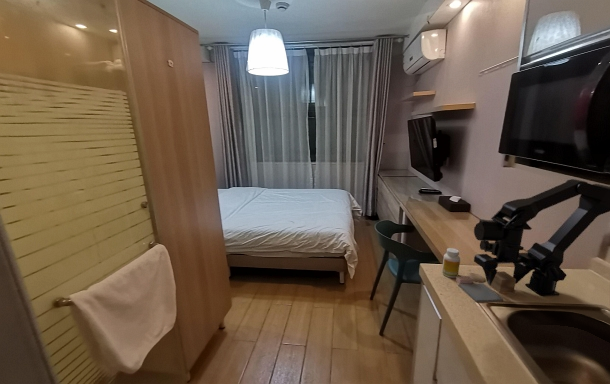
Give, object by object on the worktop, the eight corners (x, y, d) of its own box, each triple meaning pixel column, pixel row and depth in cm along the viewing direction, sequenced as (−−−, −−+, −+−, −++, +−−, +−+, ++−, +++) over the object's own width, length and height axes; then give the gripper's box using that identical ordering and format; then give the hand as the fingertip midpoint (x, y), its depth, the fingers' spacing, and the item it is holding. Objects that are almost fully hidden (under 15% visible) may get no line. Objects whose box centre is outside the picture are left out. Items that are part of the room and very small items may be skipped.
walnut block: (501, 284, 96) (504, 271, 95) (513, 292, 91) (516, 279, 90) (488, 284, 96) (490, 271, 95) (499, 293, 91) (501, 279, 90)
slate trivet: (482, 284, 96) (483, 283, 95) (503, 300, 87) (503, 299, 87) (458, 285, 95) (458, 284, 95) (476, 302, 86) (476, 300, 86)
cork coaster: (477, 274, 103) (477, 272, 103) (489, 282, 97) (489, 281, 97) (462, 274, 103) (462, 273, 103) (473, 283, 97) (473, 282, 97)
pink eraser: (468, 280, 98) (469, 275, 98) (472, 284, 96) (473, 278, 96) (455, 281, 98) (456, 276, 97) (459, 284, 96) (460, 279, 95)
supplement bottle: (459, 278, 99) (463, 254, 97) (443, 277, 100) (447, 252, 98) (455, 271, 104) (458, 247, 102) (439, 269, 105) (443, 246, 103)
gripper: (516, 230, 98) (508, 270, 102) (466, 232, 96) (460, 272, 100) (545, 243, 87) (535, 287, 91) (489, 245, 86) (482, 290, 89)
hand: (501, 283), depth 93 cm, fingers open, 9 cm apart
